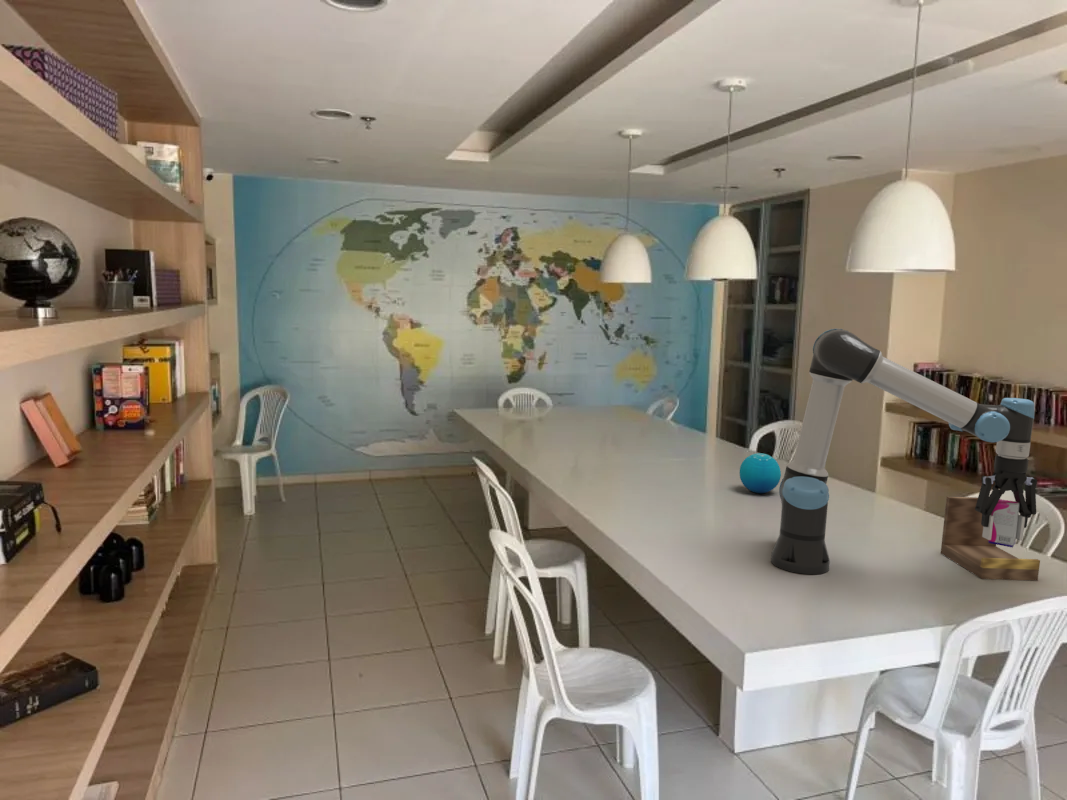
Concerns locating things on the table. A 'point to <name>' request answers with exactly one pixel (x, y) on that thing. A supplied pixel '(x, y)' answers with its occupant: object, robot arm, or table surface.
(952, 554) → the display shelf
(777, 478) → the decorative orb
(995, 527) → the supplement box
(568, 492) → the table surface
